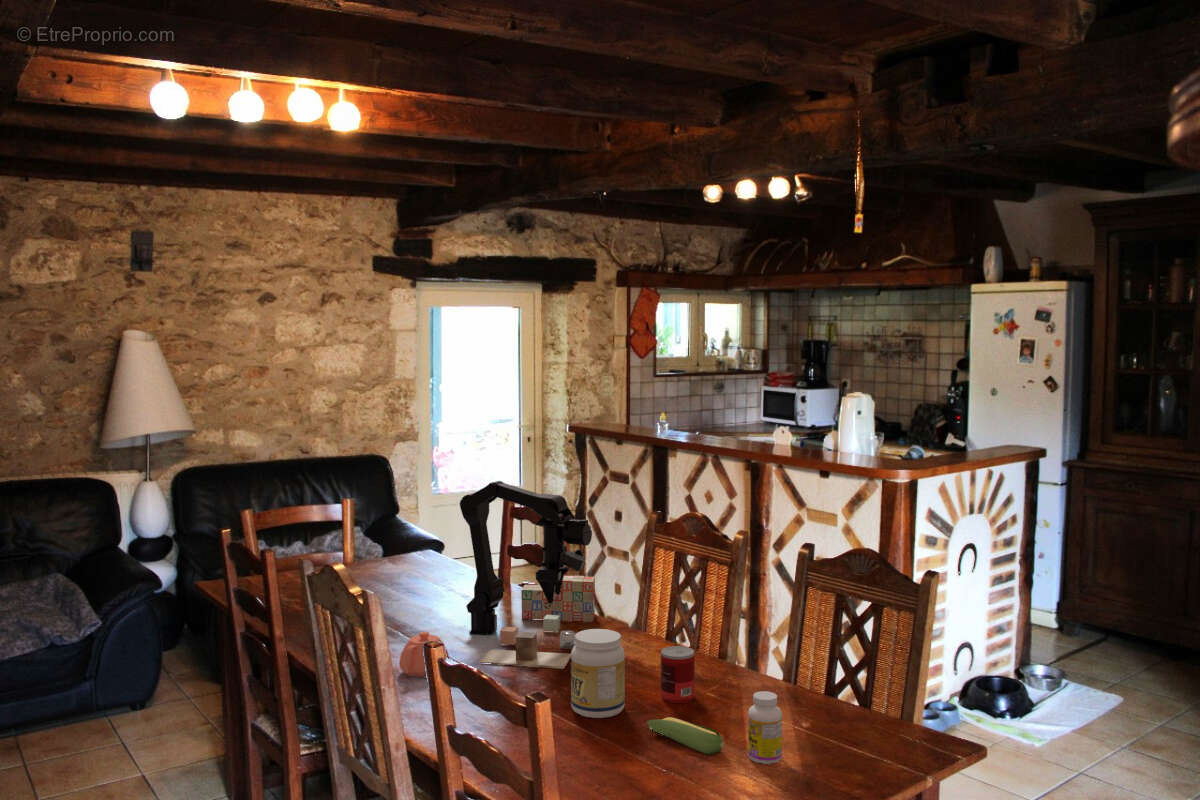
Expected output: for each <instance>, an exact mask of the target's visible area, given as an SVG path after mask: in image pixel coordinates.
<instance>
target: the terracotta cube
mask: <svg viewBox="0 0 1200 800" xmlns="http://www.w3.org/2000/svg"><path fill="white" fill-rule="evenodd" d="M518 634H519V627H517V626H503V627H502V628H501V629H500V630H499V643H500V644H505V645H504V646H509V645H510V644H511V645H515V643H516V636H517V635H518ZM500 644H499V645H500ZM506 644H507V645H506ZM508 644H509V645H508ZM515 646H516V645H515Z"/></svg>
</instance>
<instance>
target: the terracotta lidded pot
mask: <svg viewBox="0 0 1200 800" xmlns="http://www.w3.org/2000/svg"><path fill="white" fill-rule="evenodd" d="M418 634H419V635H417V634H416V635H414V636H412V637H410V638H408V641H407V642H406V644H405V645H404V647H403V649H402V651H401V653H400V658H399V668H400V669H401V670H402V671H403V672H404V673H405V674H406V676H409V675H410V676H411V677H418V678H423V679H427V678H426V671H425V662H424V656H423V644H424V643H425V642H427V641H439V642H441V643H443V641H442V640H441V638H440V637H439V636H438V635H435V634H430V632H429V631H421V632H419V633H418ZM443 644H444V643H443ZM445 648H446V654H447V658H448V659H449V660H450V656H449V652H448V649H447V647H446V646H445ZM410 676H409V677H410ZM424 677H425V678H424Z"/></svg>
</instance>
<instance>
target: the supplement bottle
mask: <svg viewBox="0 0 1200 800" xmlns="http://www.w3.org/2000/svg"><path fill="white" fill-rule="evenodd" d="M752 701H753V705H751V706H750V707H749V709H748V711H747V713H748V715H747V718H748V723H747V724H748V725H747V727H748V728H747V756H748V758H749V759H750V760H751V762H753V761H754V763H756V762H757V763H756V764H759V763H762V764H761V765H765V764H768V765H772V764H771V763H775V764H777V763H779V762H781V759H782V756H783V712H782V709H781V708H780V707H779V706H777V704H778V695H777V694H776V693H775V692H771V691H766V690H763V691H761V690H760V691H755V692H754V693H753V697H752Z"/></svg>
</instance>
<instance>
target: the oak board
mask: <svg viewBox="0 0 1200 800" xmlns="http://www.w3.org/2000/svg"><path fill="white" fill-rule="evenodd" d="M569 659H570V660H571V653H565V652H564V653H563V652H545V651H537V656H536V657H535V659H534V660H533V661H523V660H516V650H510V649H509V650H508V649H507V650H506V649H504V650H503V649H490V650H489V651H487V653H486V654H485V655H484V656H483V657H482V658H481V659H480V661H479V664H480V663H491V664H500V665H499V666H504V665H514V666H513V667H522V666H527V667H526V668H541V667H542V669H543V668H544V669H561V670H563V669H565V668H566V666H567V664H568V663H569V661H570V660H569Z"/></svg>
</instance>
